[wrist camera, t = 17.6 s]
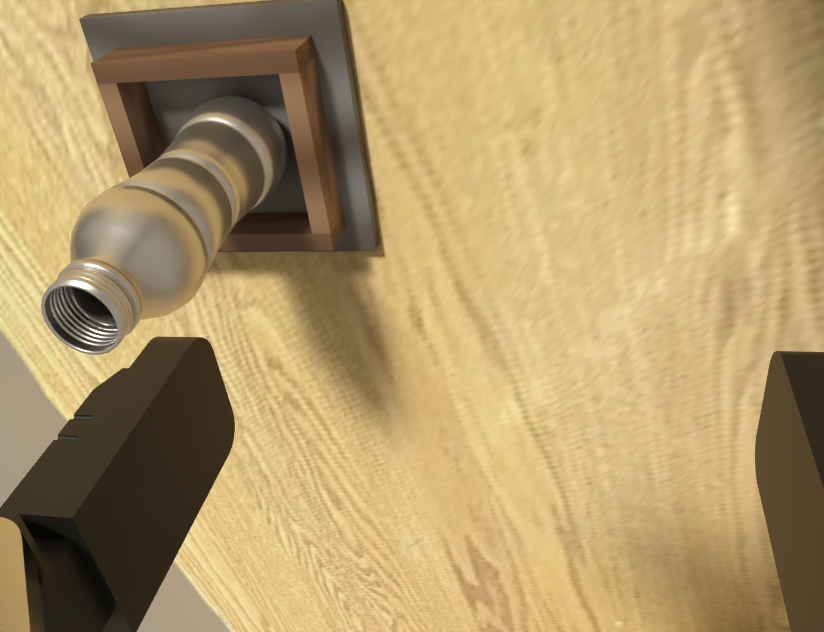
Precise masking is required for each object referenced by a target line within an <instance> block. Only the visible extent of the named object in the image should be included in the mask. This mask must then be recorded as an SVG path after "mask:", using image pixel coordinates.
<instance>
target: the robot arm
mask: <svg viewBox="0 0 824 632" xmlns="http://www.w3.org/2000/svg"><path fill="white" fill-rule="evenodd" d="M234 431H235V423H234V415H233V411H232V407H231V404H230V401H229V398H228V395H227V392H226V389H225V386H224V382H223V379H222V376H221V373H220V370H219V367H218V364H217V360H216V357H215V354H214V351H213V348H212V346H211V344H210V343H209V342H208V340H206V339H205V338H200V337H155V338H153V339H152V340H151V341H150V342H149V343H148V344H147V345H146V347H145V348H144V349H143V351H142V352H141V353H140V355H139V356H138V357H137V359H136V360H135V361H134V363H133V364H132V365H131V367H130V368H122V369H121V370H120V371H118V372H117V373H116V374H114V375H113V376H111V377H110V378H109V379H107V380H106V381H105V382H103V383H102V384H100V385H99V386H98V387H96V388H95V389H94V390H93V391H92V392H91V393H90V395H89V396H88V397H87V398H86V400H85V401H84V402H83V404H82V405H81V406H80V407H79V409H78V410H77V411H76V412H75V414H74V419H70V420H69V421H68V423H67V424H66V425H65V426H64V428H63V429H62V430H61V431H60V433H59V434H58V440H53V442H52V443H51V444H50V445H49V447H48V448H47V449H46V451H45V452H44V453H43V454H42V456H41V457H40V458H39V459H38V461H37V462H36V463H35V464H34V466H33V467H32V468H31V469H30V471H29V472H28V473H27V475H26V476H25V477H24V478H23V480H22V481H21V482H20V483H19V485H18V486H17V487H16V489H15V490H14V491H13V492H12V494H11V495H10V496H9V498H8V499H7V500H6V501H5V503H4V504H3V505H2V506H1V508H0V632H137V630H138V628H139V626H140V624H141V622H142V620H143V618H144V616H145V614H146V612H147V611H148V609H149V607H150V605H151V603H152V601H153V599H154V597H155V595H156V593H157V591H158V589H159V587H160V586H161V584H162V582H163V580H164V578H165V576H166V574H167V572H168V570H169V568H170V566H171V564H172V563H173V561H174V559H175V557H176V555H177V553H178V551H179V549H180V547H181V545H182V543H183V541H184V540H185V538H186V536H187V534H188V532H189V530H190V528H191V526H192V524H193V522H194V520H195V518H196V516H197V515H198V513H199V511H200V509H201V507H202V505H203V503H204V501H205V499H206V497H207V495H208V493H209V492H210V490H211V488H212V486H213V484H214V482H215V480H216V478H217V476H218V474H219V472H220V470H221V468H222V467H223V465H224V463H225V461H226V459H227V457H228V455H229V453H230V450H231V448H232V444H233V439H234ZM755 467H756V477H757V484H758V488H759V493H760V497H761V502H762V506H763V510H764V515H765V519H766V523H767V528H768V532H769V537H770V541H771V545H772V550H773V554H774V558H775V563H776V567H777V572H778V576H779V580H780V585H781V589H782V593H783V598H784V602H785V607H786V611H787V615H788V620H789V624H790V628H791V632H824V352H791V351H776V352H774V353H773V355H772V357H771V361H770V365H769V370H768V376H767V381H766V387H765V392H764V398H763V403H762V409H761V414H760V419H759V425H758V430H757V436H756V445H755Z"/></svg>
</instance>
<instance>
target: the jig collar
mask: <svg viewBox="0 0 824 632" xmlns="http://www.w3.org/2000/svg"><path fill="white" fill-rule="evenodd" d="M79 20H80V23H81V26H82V29H83V32H84V35H85V38H86V41H87V44H88V47H89V50H90V53H91V55H92V58H93V61H94V62H92V63H91V66H92V69H93V72H94V75H95V78H96V81H97V84H98V87H99V90H100V93H101V96H102V98H103V101H104V104H105V107H106V110H107V113H108V116H109V119H110V122H111V125H112V128H113V131H114V134H115V137H116V139H117V142H118V145H119V148H120V151H121V154H122V157H123V160H124V163H125V166H126V169H127V172H128V175H129V178H130V177H132V176H134V175H136V174H138V173H139V172H141V171H142V170H143V169H144V168H146V167H147V166H148V165H150V164H151V163H152V162H154V161H155V160H156V159H158V158H159V157H160V156H161V155H162V154H163V152H164V151H165V150H166V149H167V148H168V146H169V145H170V144H171V143H172V142H173V140H174V139H175V138H176V135H177V133H178V131H179V129H180V128H181V126H182V125H183V123H184V122H185V121H186V119H187V118H188V116H189V115H190V114H191V113H192V111H193V110H195V109H196V108H197V107H198V106H200V105H202V104H204V103H206V102H209V101H211V100H214V99H216V98H219V97H224V96H239V97H243V98H247V99H249V100H252V101H254V102H256V103H257V104H259V105H260V106H262V107H263V108H265V109H266V110H267V111H268V112H269V113H270V114H271V115H272V116H273V117H274V119H275V120H276V121H277V123H278V124H279V126H280V128H281V129H282V131H283V133H284V136H285V140H286V143H287V150H288V157H287V164H286V167H285V171H284V174H283V177H282V179H281V182H280V184H279V185H278V187H277V189H276V190H275V191H274V192H273V193H272V194H271V195H270V196H269V197H268V198H267V199H266V200H264V201H263V202H262V203H261V204H259V205H258V206H256V207H255V208H253V209H251V210H250V211H249V212H248V213H247V214H245V215H244V216H243V217H242V218H241V219H240V220H239V221H238V222H237V223H236V224H235V225H234V226H233V228H232V229H231V231H230V232H229V234H228V235H227V237H226V239H225V240H224V242H223V243H222V245H221V246H220V248H219V249H218V251H217V252H281V251H376V250H377V248H378V245H379V239H378V232H377V226H376V219H375V213H374V206H373V200H372V194H371V187H370V181H369V174H368V168H367V161H366V155H365V148H364V142H363V136H362V129H361V123H360V116H359V110H358V103H357V97H356V90H355V84H354V78H353V71H352V65H351V58H350V52H349V45H348V39H347V32H346V26H345V20H344V13H343V7H342V0H270V1H257V2H244V3H232V4H219V5H206V6H193V7H181V8H168V9H155V10H142V11H130V12H117V13H104V14H91V15H86V16H84V17H82V18H81V19H79Z"/></svg>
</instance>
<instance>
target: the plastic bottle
mask: <svg viewBox="0 0 824 632" xmlns="http://www.w3.org/2000/svg"><path fill="white" fill-rule="evenodd" d="M287 157H288V150H287V143H286V140H285V136H284V133H283V131H282V129H281V128H280V126H279V124H278V123H277V121H276V120H275V119H274V117H273V116H272V115H271V114H270V113H269V112H268V111H267V110H266V109H265V108H263V107H262V106H260V105H259V104H257V103H256V102H254V101H252V100H249V99H247V98H243V97H239V96H224V97H219V98H216V99H214V100H211V101H209V102H206V103H204V104H202V105H200V106H198V107H197V108H196V109H195V110H193V111H192V113H191V114H190V115H189V116H188V118H187V119H186V121H185V122H184V123H183V125H182V126H181V128H180V129H179V131H178V133H177V135H176V138H175V139H174V140H173V142H172V143H171V144H170V145H169V146H168V148H167V149H166V150H165V151H164V152H163V154H162V155H161V156H160V157H159V158H158V159H156V160H155V161H154V162H152V163H151V164H150V165H148V166H147V167H146V168H144V169H143V170H142V171H141V172H139V173H138V174H136V175H134V176H132V177H130V178H129V179H127V180H125V181H123V182H121V183H119V184H117V185H116V186H114V187H112V188H110V189H108V190H106V191H104V192H103V193H101V194H100V195H99V196H97V197H96V198H94V199H93V200H92V201H90V202H89V203H88V204H87V205H86V206H85V207H84V209H83V210H82V211H81V213H80V215H79V217H78V219H77V221H76V224H75V226H74V229H73V231H72V234H71V243H70V250H71V263H70V264H69V265H67V266H66V267H65V268H64V269H63V270H62V272H61V273H60V274H59V276H58V278H57V280H56V281H55V282H54V283H53V284H52V285H51V286H50V287H49V288H48V289H47V291H46V292H45V294H44V296H43V299H42V304H41V308H42V314H43V317H44V320H45V322H46V324H47V325H48V327H49V328H50V330H51V331H52V332H53V334H54V335H55V336H56V337H57V338H58V339H59V340H61V341H62V342H63V343H65V344H66V345H68V346H69V347H71V348H73V349H75V350H77V351H80V352H83V353H87V354H93V355H98V354H104V353H108V352H110V351H111V350H113V349H114V348H115V347H117V345H118V344H119V343H120V342H121V341H122V339H123V338H124V337H125V336H126V335H127V334H129V333H130V332H131V331H132V330H133V329H134V328H135V327H136V325H137V324H138V323H139V321H140V320H142V319H150V318H157V317H162V316H165V315H168V314H170V313H172V312H174V311H175V310H177V309H179V308H181V307H182V306H184V305H185V304H187V303H189V301H190V300H191V299H192V298H193V297H194V296H195V295H196V293H197V291H198V290H199V288H200V287H201V285H202V283H203V281H204V279H205V277H206V275H207V273H208V271H209V268H210V266H211V264H212V262H213V260H214V258H215V255H216V253H217V251H218V249H219V248H220V246H221V245H222V243H223V242H224V240H225V239H226V237H227V235H228V234H229V232H230V231H231V229H232V228H233V226H234V225H235V224H236V223H237V222H238V221H239V220H240V219H241V218H242V217H243V216H244V215H245V214H247V213H248V212H249V211H250V210H251V209H253V208H255V207H256V206H258V205H259V204H261V203H262V202H263V201H264V200H266V199H267V198H268V197H269V196H270V195H271V194H272V193H273V192H274V191H275V190H276V189H277V187H278V185H279V184H280V182H281V179H282V177H283V174H284V171H285V167H286V164H287Z"/></svg>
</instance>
